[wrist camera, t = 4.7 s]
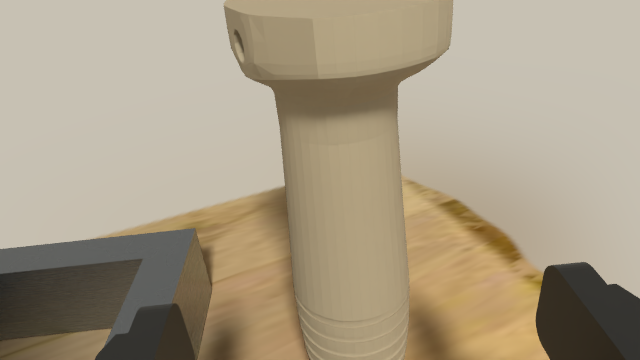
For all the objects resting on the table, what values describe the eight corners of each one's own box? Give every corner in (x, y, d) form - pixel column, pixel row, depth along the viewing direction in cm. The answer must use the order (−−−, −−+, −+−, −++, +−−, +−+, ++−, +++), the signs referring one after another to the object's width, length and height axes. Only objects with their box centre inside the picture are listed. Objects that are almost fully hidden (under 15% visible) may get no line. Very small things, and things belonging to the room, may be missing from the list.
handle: (370, 317, 22) (351, -27, 15) (461, 431, 17) (501, -12, 10) (275, 358, 20) (201, -4, 13) (343, 499, 15) (283, 29, 8)
